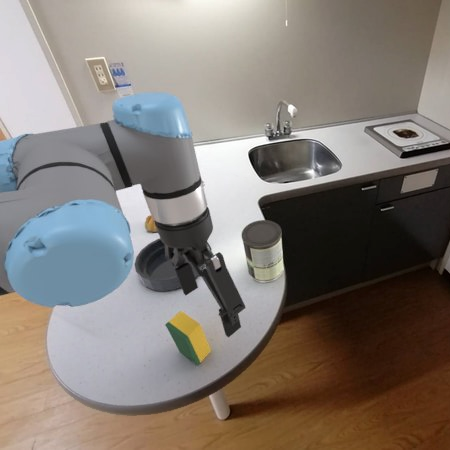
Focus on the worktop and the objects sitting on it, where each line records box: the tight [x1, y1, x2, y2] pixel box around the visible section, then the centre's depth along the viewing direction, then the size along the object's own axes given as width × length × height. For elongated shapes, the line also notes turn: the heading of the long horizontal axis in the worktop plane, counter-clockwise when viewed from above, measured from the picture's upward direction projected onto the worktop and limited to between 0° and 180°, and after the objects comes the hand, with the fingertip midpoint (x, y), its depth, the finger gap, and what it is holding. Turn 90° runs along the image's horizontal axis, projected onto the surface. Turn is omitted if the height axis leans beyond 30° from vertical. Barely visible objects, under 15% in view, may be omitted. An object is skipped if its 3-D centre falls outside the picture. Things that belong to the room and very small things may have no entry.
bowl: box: [134, 237, 205, 292], centre depth 87 cm, size 18×18×5 cm
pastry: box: [144, 214, 158, 233], centre depth 101 cm, size 9×7×4 cm
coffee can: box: [241, 219, 285, 284], centre depth 83 cm, size 10×10×14 cm
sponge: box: [164, 310, 212, 366], centre depth 65 cm, size 4×6×11 cm, turn 56°
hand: (210, 309), depth 56 cm, fingers open, 13 cm apart
